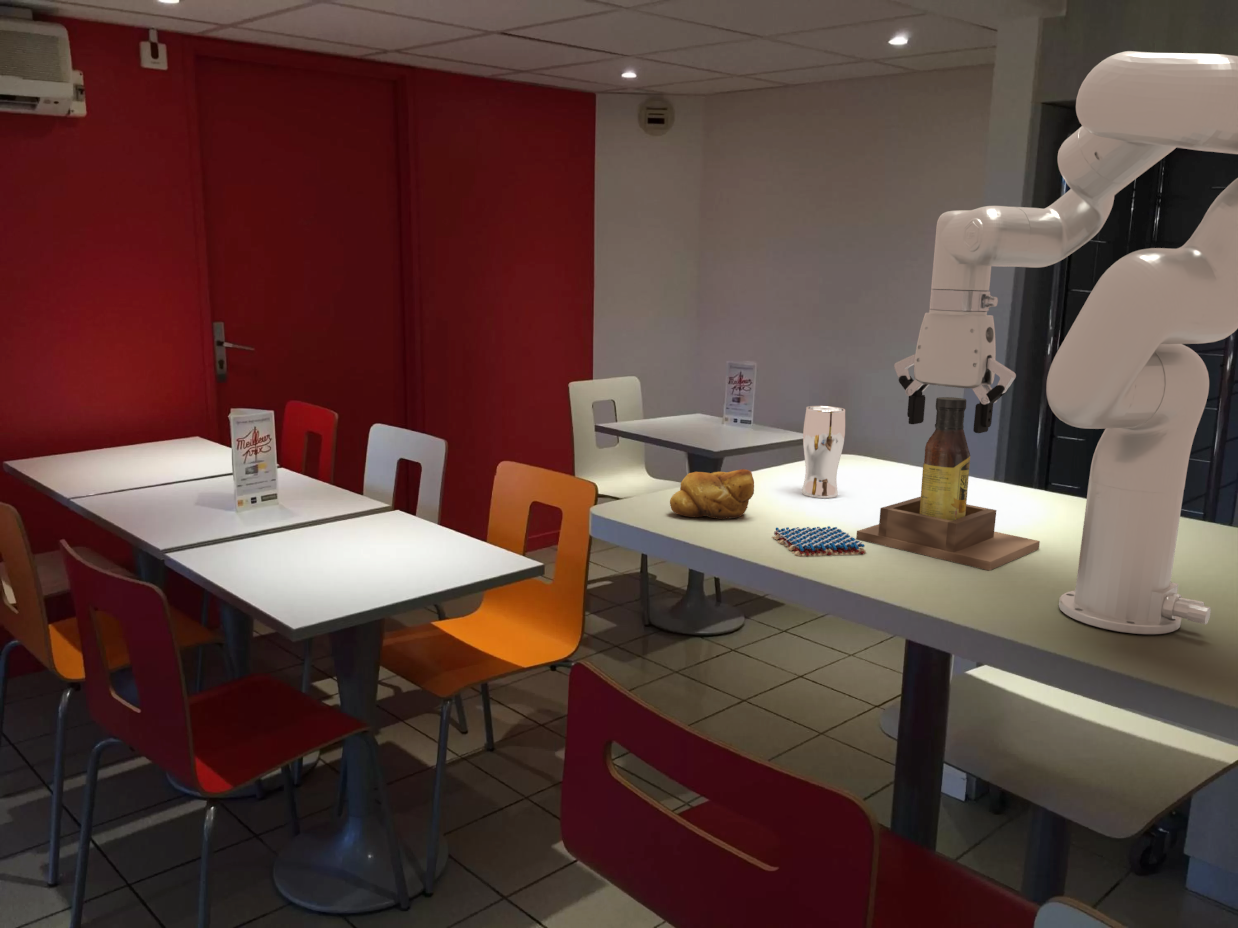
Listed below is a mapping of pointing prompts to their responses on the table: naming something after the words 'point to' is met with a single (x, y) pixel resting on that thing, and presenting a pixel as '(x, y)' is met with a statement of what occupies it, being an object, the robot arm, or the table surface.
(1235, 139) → the robot arm
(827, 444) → the beer glass
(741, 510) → the bread roll
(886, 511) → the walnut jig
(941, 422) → the sauce bottle
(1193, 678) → the table surface
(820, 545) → the woven mat
